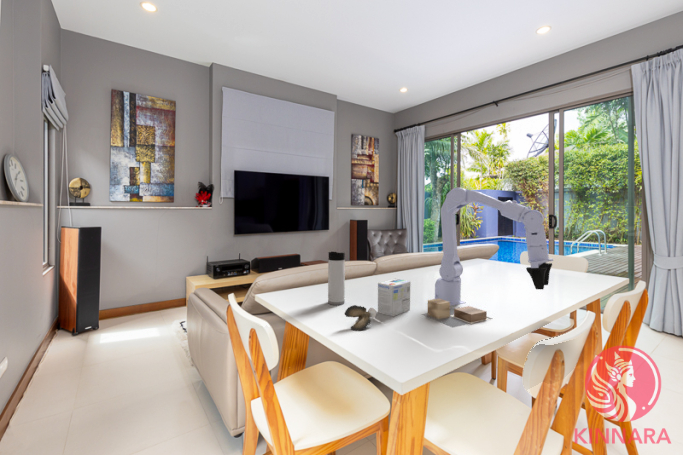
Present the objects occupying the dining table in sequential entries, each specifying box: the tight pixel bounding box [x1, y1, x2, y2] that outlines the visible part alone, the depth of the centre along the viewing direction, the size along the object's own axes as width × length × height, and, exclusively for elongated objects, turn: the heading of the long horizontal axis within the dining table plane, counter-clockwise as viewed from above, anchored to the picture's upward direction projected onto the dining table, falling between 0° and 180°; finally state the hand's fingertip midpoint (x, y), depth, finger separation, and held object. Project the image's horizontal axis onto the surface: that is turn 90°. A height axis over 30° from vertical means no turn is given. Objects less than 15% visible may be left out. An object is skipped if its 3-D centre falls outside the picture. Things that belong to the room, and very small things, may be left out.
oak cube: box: [427, 298, 451, 319], centre depth 108 cm, size 5×5×5 cm
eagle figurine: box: [343, 304, 378, 332], centre depth 99 cm, size 8×7×9 cm
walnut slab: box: [454, 305, 488, 323], centre depth 106 cm, size 7×7×2 cm
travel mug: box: [327, 251, 346, 306], centre depth 123 cm, size 6×7×20 cm
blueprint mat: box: [420, 306, 493, 328], centre depth 107 cm, size 14×18×1 cm
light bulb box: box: [377, 278, 411, 317], centre depth 113 cm, size 11×7×11 cm, turn 135°
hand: (542, 287), depth 107 cm, fingers open, 7 cm apart
